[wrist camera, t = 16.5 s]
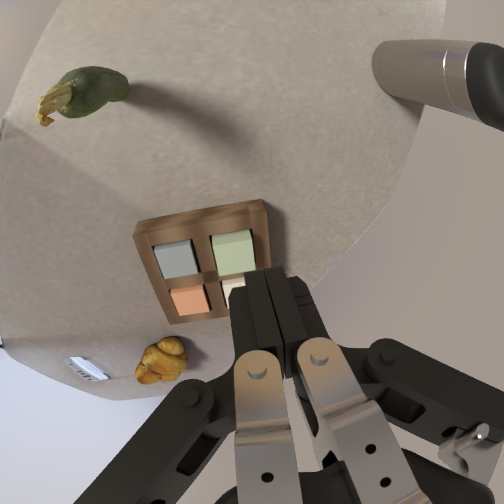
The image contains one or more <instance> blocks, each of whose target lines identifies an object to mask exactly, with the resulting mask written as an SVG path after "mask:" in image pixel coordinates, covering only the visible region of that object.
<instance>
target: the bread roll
mask: <svg viewBox="0 0 504 504" xmlns="http://www.w3.org/2000/svg"><path fill="white" fill-rule="evenodd" d="M187 360H188V359H187V356H186V354H185V352H184V347H183V345H182V343H181V341H180V340H179V339H177V338H175V337H165V338H162V339H161V340H160V341H159V342H158V343H157V344H152V345H150V346H148V347H147V348H146V349H145V351H144V353H143V356H142V358H141V362H140V363H139V364H138V366H137V368H136V371H135V376H136V379H137V380H138V381H139V382H140V383H141V384H151V383H155V382H157V381H159V380H161V381H163V382H166V381H175V380H176V379H177V378H178V377H179V376H180V374H181V372H182V371H184V370H185V368H186V367H187V366H188V362H187Z"/></svg>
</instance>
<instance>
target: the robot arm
mask: <svg viewBox="0 0 504 504" xmlns="http://www.w3.org/2000/svg"><path fill="white" fill-rule="evenodd" d="M373 72H374V75H375V78H376V80H377V82H378V84H379V85H380V86H381V88H382V89H383V90H384V91H385V92H387V93H388V94H390V95H391V96H394V97H397V98H402V99H406V100H410V101H414V102H418V103H422V104H426V105H430V106H433V107H437V108H440V109H443V110H447V111H450V112H453V113H456V114H459V115H462V116H465V117H468V118H471V119H473V120H476V121H479V122H481V123H484V124H486V125H488V126H491V127H494V128H496V129H499V130H501V131H503V132H504V48H503V47H500V46H498V45H495V44H489V43H482V42H473V41H460V40H435V39H422V40H396V41H387V42H384V43H382V44H381V45H379V46H378V48H377V49H376V51H375V53H374V56H373ZM243 274H244V280H245V286H240V287H234V288H232V290H231V292H230V294H229V297H228V303H229V311H230V319H231V327H232V335H233V342H234V349H235V360H234V363H233V365H232V367H231V368H230V369H229V370H228V371H227V372H226V373H225V374H223V375H222V376H220V377H218V378H216V379H213V380H211V381H209V382H207V383H205V382H204V381H201V380H198V379H188V380H184V381H182V382H180V383H178V384H177V385H176V386H175V387H174V388H173V389H172V390H171V391H170V392H169V394H168V395H167V396H166V397H165V398H164V400H163V401H162V402H161V403H160V405H159V406H158V407H157V408H156V409H155V411H154V412H153V413H152V414H151V415H150V417H149V418H148V419H147V420H146V422H144V424H143V425H142V426H141V427H140V428H139V429H138V431H137V432H136V433H135V435H133V437H132V438H131V439H130V440H129V441H128V442H127V444H126V445H125V446H124V447H123V448H122V449H121V451H120V452H119V453H118V454H117V455H116V457H114V459H113V460H112V461H111V462H110V463H109V464H108V465H107V467H106V468H105V469H104V470H103V471H102V472H101V473H100V474H99V476H98V477H97V478H96V479H95V480H94V481H93V482H92V484H91V485H90V486H89V487H88V488H87V489H86V490H85V491H84V492H83V493H82V494H81V496H80V497H79V498H78V499H77V500H76V501H75V502H74V503H73V504H176V502H177V501H178V500H179V498H181V496H182V495H183V494H184V493H185V491H186V490H187V489H188V488H189V486H190V485H191V484H192V483H193V481H194V480H195V479H196V478H197V476H198V475H199V474H200V472H201V471H202V470H203V468H204V467H205V466H206V465H207V463H208V462H209V460H210V459H211V458H212V456H213V455H214V454H215V452H216V451H217V449H218V448H219V447H220V445H221V444H222V443H223V441H224V440H225V438H226V437H227V435H228V434H229V433H231V432H233V431H235V430H236V432H235V437H234V447H235V463H236V478H237V486H235V487H233V488H232V489H230V490H228V491H227V492H226V493H225V494H223V495H222V496H221V497H220V498H219V499H218V500H217V501H216V502H215V504H495V499H494V495H493V493H492V491H491V490H490V488H488V487H487V485H488V483H489V481H490V479H491V476H492V474H493V471H494V469H495V466H496V464H497V461H498V458H499V455H500V452H501V450H502V446H503V444H504V392H503V391H501V390H499V389H497V388H495V387H492V386H490V385H488V384H486V383H484V382H481V381H479V380H477V379H475V378H473V377H471V376H468V375H467V374H465V373H462V372H460V371H458V370H456V369H454V368H452V367H450V366H448V365H446V364H443V363H441V362H439V361H437V360H435V359H433V358H431V357H429V356H427V355H425V354H422V353H421V352H419V351H416V350H414V349H412V348H410V347H408V346H406V345H404V344H402V343H400V342H398V341H396V340H393V339H388V338H384V339H379V340H377V341H376V342H374V343H373V344H372V345H371V346H370V347H369V348H346V347H343V346H340V345H338V344H336V343H335V342H334V341H332V340H331V338H330V337H329V335H328V333H327V332H326V329H325V326H324V324H323V322H322V319H321V317H320V315H319V312H318V310H317V308H316V305H315V304H314V301H313V299H312V296H311V294H310V292H309V289H308V287H307V285H306V283H305V282H303V281H302V280H301V279H300V278H299V277H298V276H294V277H289V278H286V275H285V273H284V270H283V267H282V266H276V267H270V268H265V269H263V271H262V269H260V270H254V271H248V272H243ZM284 374H285V377H286V378H292V377H293V381H294V384H295V388H296V389H295V394H296V398H297V401H298V404H299V407H300V409H301V412H302V415H303V417H304V420H305V423H306V425H307V428H308V431H309V433H310V436H311V439H312V445H313V450H314V454H315V456H316V459H317V462H318V464H319V467H320V471H318V472H298V468H297V461H296V455H295V449H294V442H293V436H292V431H291V427H290V424H289V418H288V412H287V406H286V399H285V393H284V387H283V379H284ZM387 421H388V422H391V423H392V424H394V425H396V426H398V427H400V428H402V429H404V430H406V431H408V432H410V433H412V434H414V435H416V436H418V437H420V438H422V439H425V440H427V441H429V442H431V443H433V444H436V445H438V446H439V452H438V457H439V459H440V460H442V461H443V462H444V463H445V464H447V465H448V466H449V467H450V468H451V470H452V471H451V470H449V469H446V468H444V467H442V466H440V465H438V464H436V463H434V462H431V461H430V460H428V459H426V458H424V457H422V456H420V455H418V454H416V453H414V452H412V451H409V450H406V449H403V448H400V446H399V444H398V442H397V440H396V438H395V436H394V434H393V432H392V429H391V428H390V426H389V424H388V422H387Z"/></svg>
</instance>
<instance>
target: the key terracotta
mask: <svg viewBox="0 0 504 504" xmlns="http://www.w3.org/2000/svg"><path fill="white" fill-rule="evenodd" d="M171 297H172V299H173V301H174V304H175V306H176V309H177V311H178V313H179V316H183V315H190V314H197V313H203V312H210V310H209V297H208V294H207V290H206V287H205V284H200V285H194V286H188V287H181V288H175V289H171Z"/></svg>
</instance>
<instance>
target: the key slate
mask: <svg viewBox="0 0 504 504" xmlns="http://www.w3.org/2000/svg"><path fill="white" fill-rule="evenodd" d="M154 252H155V255H156V258H157V260H158V263H159V266H160V268H161V271H162V274H163V276H164V279H168V278H174V277H180V276H186V275H192V274H198V258H197V255H196V251H195V247H194V243H193V240H192V239H188V240H182V241H177V242H171V243H166V244H161V245H155V249H154Z"/></svg>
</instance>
